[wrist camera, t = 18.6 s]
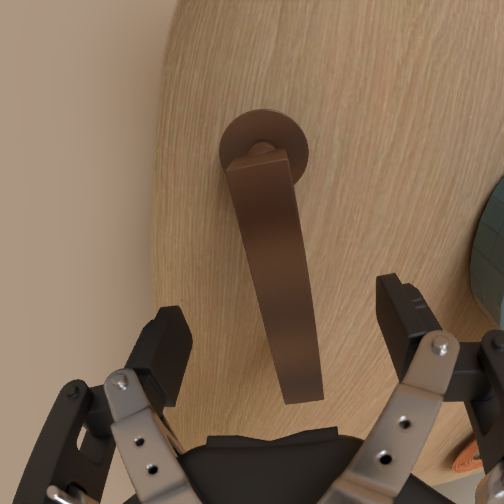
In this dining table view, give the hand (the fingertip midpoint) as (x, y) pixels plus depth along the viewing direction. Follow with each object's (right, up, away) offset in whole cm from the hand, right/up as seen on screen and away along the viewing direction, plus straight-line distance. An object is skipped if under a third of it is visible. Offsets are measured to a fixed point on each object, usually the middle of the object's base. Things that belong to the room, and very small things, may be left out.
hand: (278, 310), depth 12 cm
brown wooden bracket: (+1, +4, +10) cm, 11 cm away
